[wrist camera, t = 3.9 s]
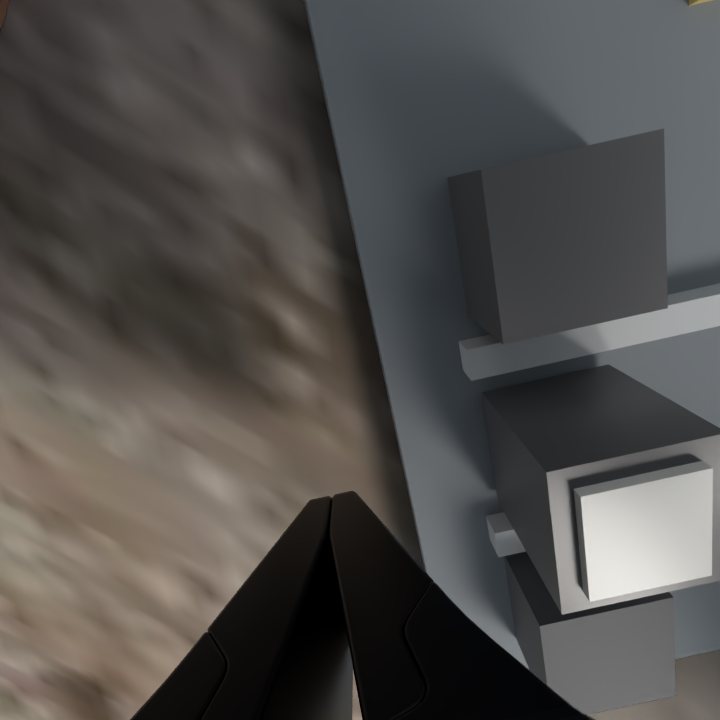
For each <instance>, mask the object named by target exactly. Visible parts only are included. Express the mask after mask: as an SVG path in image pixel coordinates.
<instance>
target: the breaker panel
mask: <svg viewBox="0 0 720 720" xmlns="http://www.w3.org/2000/svg"><path fill="white" fill-rule="evenodd" d="M304 3H305V8H306V13H307V18H308V22H309V27H310V32H311V36H312V41H313V46H314V51H315V55H316V60H317V65H318V69H319V74H320V79H321V84H322V88H323V93H324V98H325V102H326V107H327V112H328V117H329V121H330V126H331V131H332V136H333V140H334V145H335V150H336V154H337V159H338V164H339V169H340V173H341V178H342V183H343V187H344V192H345V197H346V202H347V206H348V211H349V216H350V220H351V225H352V230H353V235H354V239H355V244H356V249H357V253H358V258H359V263H360V268H361V272H362V277H363V282H364V286H365V291H366V296H367V301H368V305H369V310H370V315H371V319H372V324H373V329H374V334H375V338H376V343H377V348H378V352H379V357H380V362H381V367H382V371H383V376H384V381H385V386H386V390H387V395H388V400H389V404H390V409H391V414H392V419H393V423H394V428H395V433H396V437H397V442H398V447H399V452H400V456H401V461H402V466H403V470H404V475H405V480H406V485H407V489H408V494H409V499H410V503H411V508H412V513H413V518H414V522H415V527H416V532H417V536H418V541H419V546H420V551H421V555H422V560H423V565H424V569H425V571H426V573H427V574H428V575H429V576H430V577H431V578H432V579H433V581H434V583H436V584H437V585H438V586H439V587H440V588H441V589H442V590H443V591H444V593H445V594H446V595H447V596H448V597H449V598H450V599H451V600H452V601H453V602H454V603H455V604H456V605H457V606H458V607H459V608H460V610H461V611H462V612H463V613H464V614H465V615H466V616H467V617H468V618H469V619H471V620H472V621H473V622H474V623H475V624H476V625H477V626H478V627H479V628H481V629H482V630H483V631H484V632H485V633H486V634H487V635H488V636H490V637H491V638H492V639H493V640H494V641H495V642H497V643H498V644H499V645H500V646H501V647H503V648H504V649H505V650H506V651H507V652H509V653H510V654H511V655H512V656H513V657H515V658H516V659H517V660H518V661H519V662H521V663H522V664H523V665H524V666H525V667H527V668H528V669H529V670H530V671H531V672H533V673H534V674H535V675H536V676H537V677H538V678H540V679H541V680H542V681H543V682H544V683H546V684H547V685H548V686H549V687H550V688H552V689H553V690H554V691H555V692H556V693H558V694H559V695H560V696H561V697H563V698H564V699H565V700H566V701H568V702H569V703H570V704H571V705H573V706H574V707H575V708H577V709H578V710H580V711H581V712H583V713H584V714H586V715H589V714H594V713H598V712H603V711H608V710H612V709H617V708H622V707H626V706H631V705H636V704H640V703H645V702H650V701H655V700H659V699H664V698H669V697H673V696H676V689H675V659H679V658H684V657H688V656H693V655H698V654H702V653H707V652H712V651H716V650H720V581H716V582H712V583H707V584H702V585H698V586H693V587H688V588H684V589H679V590H675V591H670V592H665V593H661V594H656V595H651V596H647V597H642V598H637V599H633V600H628V601H624V602H619V603H614V604H610V605H605V606H600V607H596V608H591V609H586V610H582V611H577V612H573V613H568V614H563V615H562V614H561V612H560V610H559V609H558V607H557V605H556V603H555V602H554V600H553V598H552V596H551V595H550V593H549V591H548V589H547V587H546V586H545V584H544V582H543V580H542V579H541V577H540V575H539V573H538V571H537V570H536V568H535V566H534V564H533V563H532V561H531V559H530V557H529V556H528V554H527V552H526V550H525V548H524V547H523V545H522V543H521V541H520V540H519V538H518V536H517V534H516V532H515V531H514V529H513V527H512V525H511V524H510V522H509V520H508V518H507V517H506V515H505V513H504V511H503V509H502V508H501V506H500V504H499V502H498V499H497V492H496V485H495V478H494V472H493V465H492V458H491V451H490V445H489V438H488V431H487V424H486V418H485V411H484V404H483V397H482V392H486V391H490V390H495V389H499V388H504V387H508V386H513V385H517V384H522V383H526V382H531V381H535V380H540V379H544V378H549V377H553V376H558V375H563V374H567V373H572V372H576V371H581V370H585V369H590V368H594V367H599V366H603V365H608V364H609V365H611V366H612V367H614V368H616V369H618V370H619V371H621V372H623V373H625V374H626V375H628V376H630V377H632V378H633V379H635V380H637V381H639V382H640V383H642V384H644V385H645V386H647V387H649V388H651V389H652V390H654V391H656V392H658V393H659V394H661V395H663V396H665V397H666V398H668V399H670V400H672V401H673V402H675V403H677V404H679V405H680V406H682V407H684V408H686V409H687V410H689V411H691V412H693V413H694V414H696V415H698V416H699V417H701V418H703V419H705V420H706V421H708V422H710V423H712V424H713V425H715V426H717V427H719V428H720V0H304Z"/></svg>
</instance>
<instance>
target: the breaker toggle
mask: <svg viewBox="0 0 720 720" xmlns="http://www.w3.org/2000/svg"><path fill="white" fill-rule="evenodd" d="M482 397H483V404H484V411H485V418H486V424H487V431H488V438H489V445H490V451H491V458H492V465H493V472H494V478H495V485H496V492H497V499H498V502H499V504H500V506H501V508H502V509H503V511H504V513H505V515H506V517H507V518H508V520H509V522H510V524H511V525H512V527H513V529H514V531H515V532H516V534H517V536H518V538H519V540H520V541H521V543H522V545H523V547H524V548H525V550H526V552H527V554H528V556H529V557H530V559H531V561H532V563H533V564H534V566H535V568H536V570H537V571H538V573H539V575H540V577H541V579H542V580H543V582H544V584H545V586H546V587H547V589H548V591H549V593H550V595H551V596H552V598H553V600H554V602H555V603H556V605H557V607H558V609H559V610H560V612H561V614H562V615H563V614H568V613H573V612H577V611H582V610H586V609H591V608H596V607H600V606H605V605H610V604H614V603H619V602H624V601H628V600H633V599H637V598H642V597H647V596H651V595H656V594H661V593H665V592H670V591H675V590H679V589H684V588H688V587H693V586H698V585H702V584H707V583H712V582H716V581H720V428H719V427H717V426H715V425H713V424H712V423H710V422H708V421H706V420H705V419H703V418H701V417H699V416H698V415H696V414H694V413H693V412H691V411H689V410H687V409H686V408H684V407H682V406H680V405H679V404H677V403H675V402H673V401H672V400H670V399H668V398H666V397H665V396H663V395H661V394H659V393H658V392H656V391H654V390H652V389H651V388H649V387H647V386H645V385H644V384H642V383H640V382H639V381H637V380H635V379H633V378H632V377H630V376H628V375H626V374H625V373H623V372H621V371H619V370H618V369H616V368H614V367H612V366H611V365H609V364H608V365H603V366H599V367H594V368H590V369H585V370H581V371H576V372H572V373H567V374H563V375H558V376H553V377H549V378H544V379H540V380H535V381H531V382H526V383H522V384H517V385H513V386H508V387H504V388H499V389H495V390H490V391H486V392H482Z"/></svg>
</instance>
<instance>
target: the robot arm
mask: <svg viewBox="0 0 720 720" xmlns="http://www.w3.org/2000/svg"><path fill="white" fill-rule="evenodd" d="M353 670H354V675H355V681H356V686H357V692H358V697H359V703H360V708H361V714H362V719H363V720H595V719H593V718H591V717H589V716H588V715H586V714H584V713H583V712H581V711H580V710H578V709H577V708H575V707H574V706H573V705H571V704H570V703H569V702H568V701H566V700H565V699H564V698H563V697H561V696H560V695H559V694H558V693H556V692H555V691H554V690H553V689H552V688H550V687H549V686H548V685H547V684H546V683H544V682H543V681H542V680H541V679H540V678H538V677H537V676H536V675H535V674H534V673H533V672H531V671H530V670H529V669H528V668H527V667H525V666H524V665H523V664H522V663H521V662H519V661H518V660H517V659H516V658H515V657H513V656H512V655H511V654H510V653H509V652H507V651H506V650H505V649H504V648H503V647H501V646H500V645H499V644H498V643H497V642H495V641H494V640H493V639H492V638H491V637H490V636H488V635H487V634H486V633H485V632H484V631H483V630H482V629H481V628H479V627H478V626H477V625H476V624H475V623H474V622H473V621H472V620H471V619H469V618H468V617H467V616H466V615H465V614H464V613H463V612H462V611H461V610H460V608H459V607H458V606H457V605H456V604H455V603H454V602H453V601H452V600H451V599H450V598H449V597H448V596H447V595H446V594H445V593H444V591H443V590H442V589H441V588H440V587H439V586H438V585H437V584H436V583H434V581H433V579H432V578H431V577H430V576H429V575H428V574H427V573H426V571H425V570H424V569H423V568H422V567H421V566H420V565H419V563H418V562H417V561H416V560H415V559H414V558H413V557H412V556H411V554H410V553H409V552H408V551H407V550H406V549H405V548H404V546H403V545H402V544H401V543H400V542H399V541H398V540H397V539H396V537H395V536H394V535H393V534H392V533H391V532H390V531H389V530H388V528H387V527H386V526H385V525H384V524H383V523H382V522H381V520H380V519H379V518H378V517H377V516H376V515H375V514H374V513H373V511H372V510H371V509H370V508H369V507H368V506H367V505H366V503H365V502H364V501H363V500H362V499H361V498H360V497H359V496H358V494H357V493H356V492H354V491H349V492H344V493H340V494H336V495H334V496H333V498H331V497H330V496H326V497H322V498H317V499H313V500H310V501H309V502H308V503H307V504H306V506H305V507H304V508H303V509H302V511H301V512H300V513H299V514H298V516H297V517H296V518H295V519H294V521H293V522H292V523H291V524H290V526H289V527H288V528H287V530H286V531H285V532H284V533H283V535H282V536H281V537H280V538H279V540H278V541H277V542H276V543H275V545H274V546H273V547H272V548H271V550H270V551H269V552H268V553H267V555H266V556H265V557H264V559H263V560H262V561H261V562H260V564H259V565H258V566H257V567H256V569H255V570H254V571H253V572H252V574H251V575H250V576H249V577H248V579H247V580H246V581H245V582H244V584H243V585H242V586H241V588H240V589H239V590H238V591H237V593H236V594H235V595H234V596H233V598H232V599H231V600H230V601H229V603H228V604H227V605H226V606H225V608H224V609H223V610H222V611H221V613H220V614H219V615H218V617H217V618H216V619H215V620H214V622H213V623H212V624H211V625H210V627H209V628H208V632H205V633H204V634H203V635H202V636H201V638H200V639H199V640H198V641H197V643H196V644H195V645H194V647H193V648H192V649H191V650H190V652H189V653H188V654H187V655H186V656H185V658H184V659H183V660H182V661H181V662H180V664H179V665H178V666H177V667H176V668H175V670H174V671H173V672H172V673H171V674H170V676H169V677H168V678H167V679H166V680H165V682H164V683H163V684H162V685H161V686H160V687H159V688H158V689H157V690H156V692H155V693H154V694H153V695H152V696H151V697H150V698H149V699H148V701H147V702H146V703H145V704H144V705H143V706H142V707H141V708H140V709H139V711H138V712H137V713H136V714H135V715H134V716H133V717H132V718H131V719H130V720H352V690H353Z"/></svg>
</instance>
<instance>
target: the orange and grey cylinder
mask: <svg viewBox="0 0 720 720" xmlns="http://www.w3.org/2000/svg"><path fill="white" fill-rule="evenodd" d="M8 2H9V0H0V31H1V28H2V25H3V22H4V19H5V15H6V12H7V7H8Z"/></svg>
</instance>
